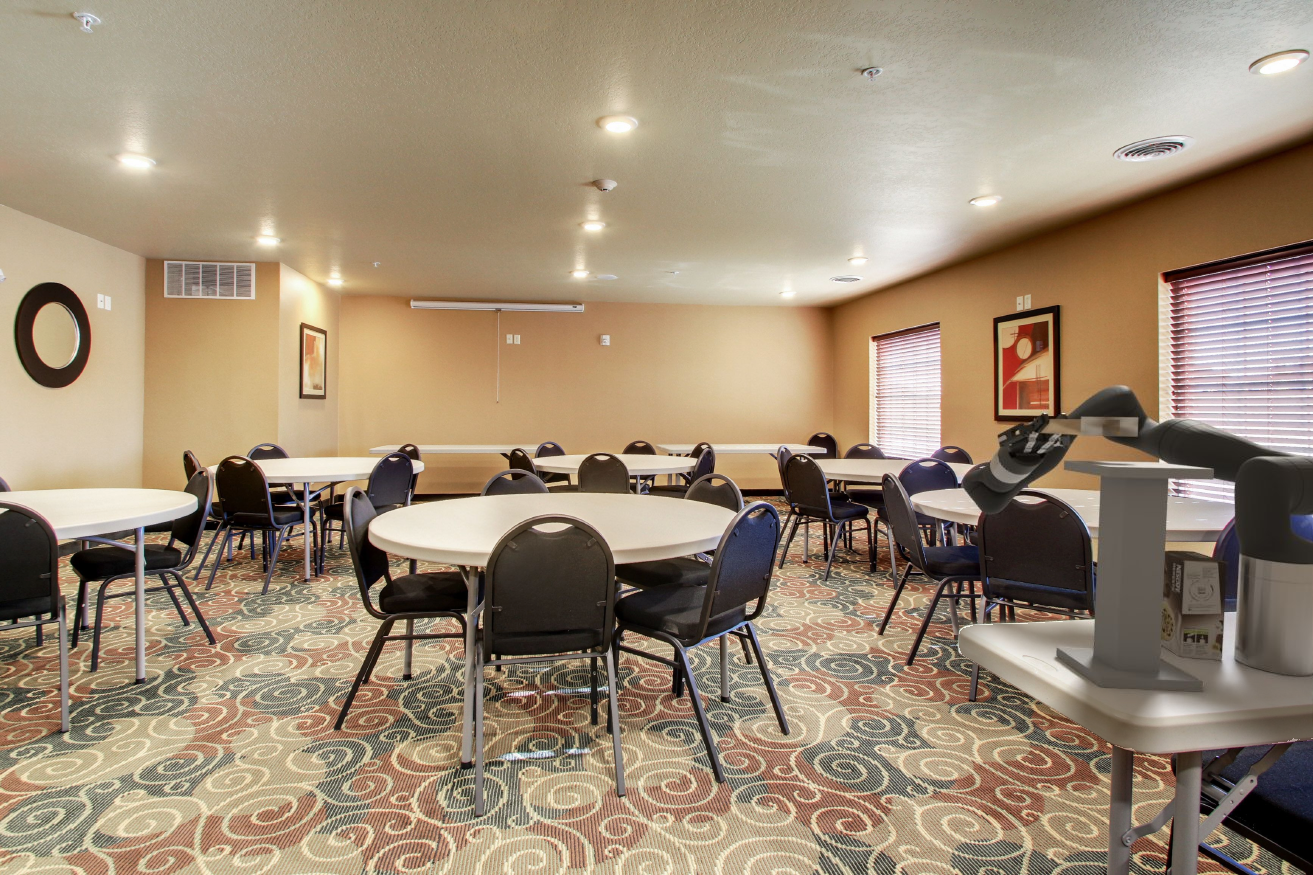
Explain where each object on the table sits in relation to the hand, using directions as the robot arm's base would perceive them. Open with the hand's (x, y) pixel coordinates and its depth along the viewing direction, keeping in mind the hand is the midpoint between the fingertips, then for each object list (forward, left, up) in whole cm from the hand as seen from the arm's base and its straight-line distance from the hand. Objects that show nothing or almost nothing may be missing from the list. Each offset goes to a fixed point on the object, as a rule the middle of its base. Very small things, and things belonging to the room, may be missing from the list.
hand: (1055, 417), depth 120 cm
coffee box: (-18, +9, -39) cm, 44 cm away
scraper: (0, +6, -3) cm, 6 cm away
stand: (-1, +21, -39) cm, 44 cm away
